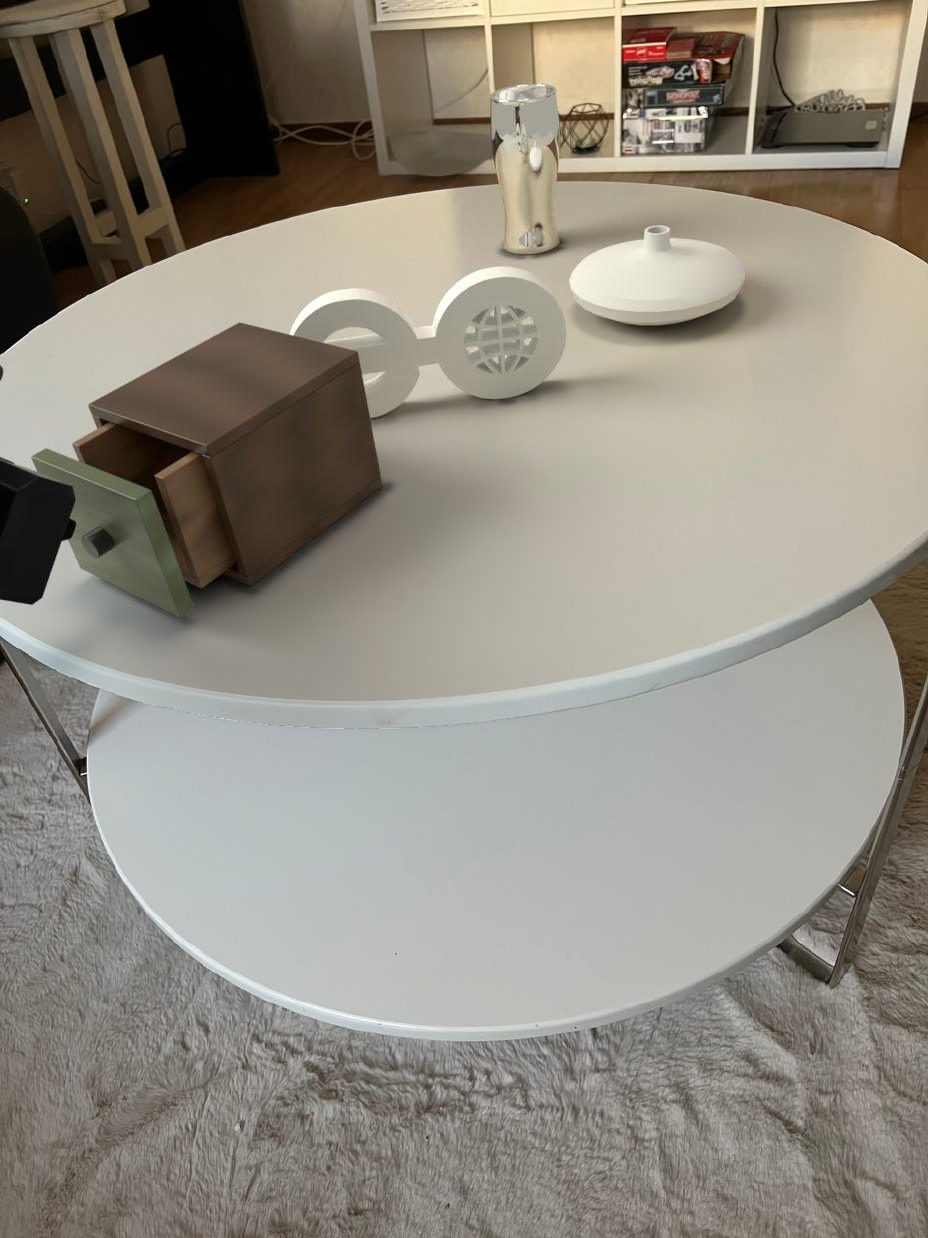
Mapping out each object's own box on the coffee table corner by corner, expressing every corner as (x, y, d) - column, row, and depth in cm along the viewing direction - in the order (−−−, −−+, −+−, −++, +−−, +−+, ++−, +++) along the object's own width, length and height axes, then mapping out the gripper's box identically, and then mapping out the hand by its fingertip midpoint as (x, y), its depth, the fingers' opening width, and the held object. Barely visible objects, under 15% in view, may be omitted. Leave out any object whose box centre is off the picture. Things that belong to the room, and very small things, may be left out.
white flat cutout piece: (562, 376, 82) (558, 257, 76) (568, 388, 80) (563, 267, 74) (303, 415, 81) (275, 298, 75) (302, 428, 80) (274, 310, 73)
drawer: (165, 629, 60) (118, 510, 54) (65, 578, 65) (13, 465, 60) (316, 516, 68) (289, 402, 62) (216, 479, 73) (182, 371, 68)
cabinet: (250, 586, 64) (206, 445, 57) (139, 537, 70) (87, 404, 63) (383, 485, 72) (358, 350, 65) (272, 448, 78) (239, 321, 71)
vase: (620, 265, 99) (620, 192, 95) (770, 287, 91) (778, 209, 87) (538, 327, 90) (533, 250, 85) (697, 357, 82) (701, 274, 78)
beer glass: (543, 228, 110) (536, 79, 100) (575, 245, 105) (571, 90, 95) (488, 243, 108) (475, 93, 98) (518, 261, 103) (508, 104, 93)
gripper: (-49, 323, 40) (220, 436, 53) (-246, 262, 49) (24, 371, 63) (-134, 580, 40) (153, 627, 54) (-313, 470, 50) (-31, 534, 63)
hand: (70, 528), depth 58 cm, fingers closed
